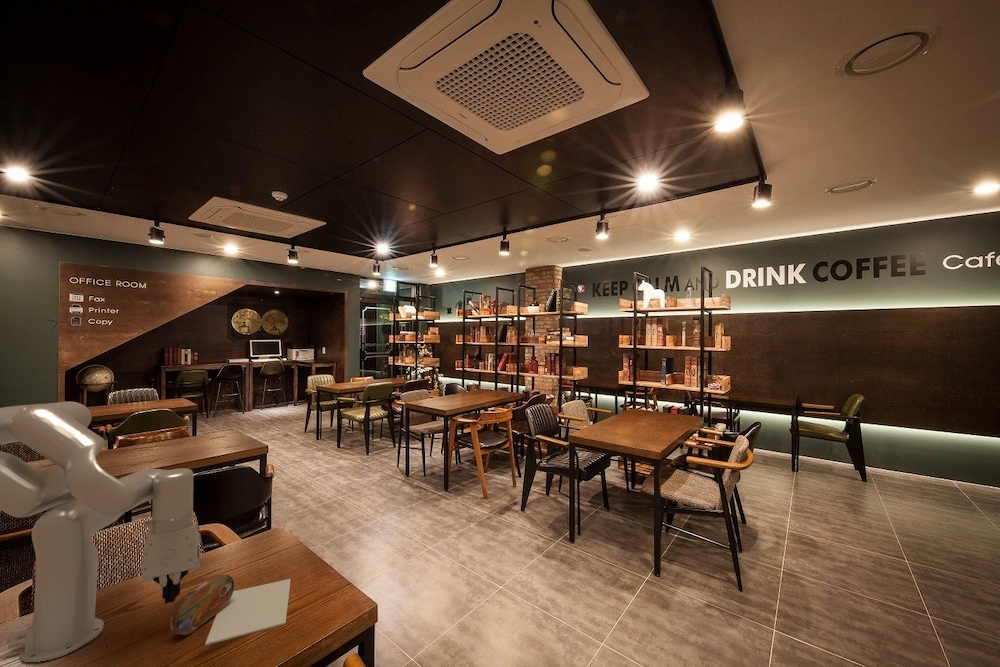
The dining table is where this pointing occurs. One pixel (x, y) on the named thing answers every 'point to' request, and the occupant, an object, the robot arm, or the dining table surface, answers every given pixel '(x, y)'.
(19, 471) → the robot arm
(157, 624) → the dining table surface
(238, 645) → the dining table surface
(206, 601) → the tin
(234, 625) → the mat
